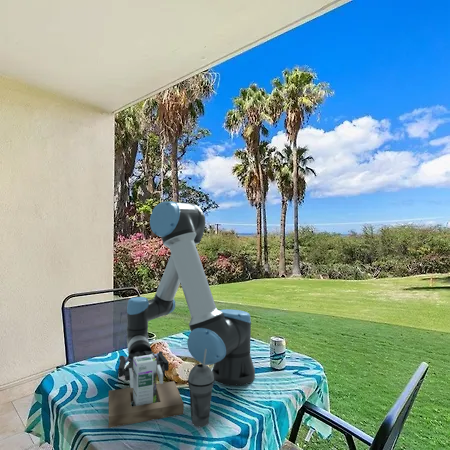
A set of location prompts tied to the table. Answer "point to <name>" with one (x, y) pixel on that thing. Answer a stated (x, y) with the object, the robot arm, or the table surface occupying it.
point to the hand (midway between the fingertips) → (147, 380)
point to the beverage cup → (200, 393)
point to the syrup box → (144, 380)
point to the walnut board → (127, 414)
